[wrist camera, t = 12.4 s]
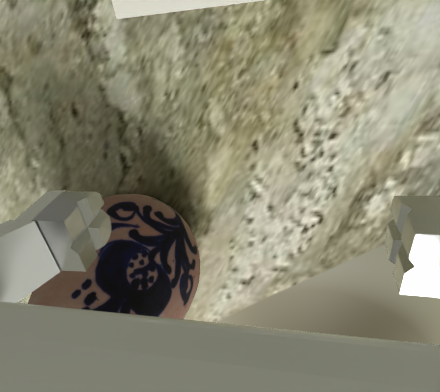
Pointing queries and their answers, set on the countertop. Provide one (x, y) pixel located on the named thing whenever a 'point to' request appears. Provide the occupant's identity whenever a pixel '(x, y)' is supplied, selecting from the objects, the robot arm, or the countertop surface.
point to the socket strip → (164, 6)
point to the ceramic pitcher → (133, 264)
